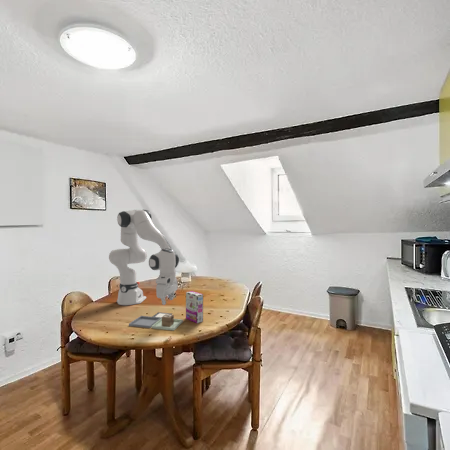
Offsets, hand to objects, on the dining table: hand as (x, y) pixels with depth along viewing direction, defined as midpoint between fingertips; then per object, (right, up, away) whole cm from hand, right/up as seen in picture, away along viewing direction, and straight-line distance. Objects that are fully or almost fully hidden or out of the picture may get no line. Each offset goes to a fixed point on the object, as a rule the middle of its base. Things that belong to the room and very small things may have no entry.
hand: (167, 302), depth 156 cm
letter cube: (0, -13, +1) cm, 13 cm away
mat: (-7, -13, +15) cm, 21 cm away
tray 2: (0, -14, +1) cm, 14 cm away
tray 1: (-14, -13, +4) cm, 20 cm away
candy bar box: (+14, -14, +9) cm, 21 cm away
